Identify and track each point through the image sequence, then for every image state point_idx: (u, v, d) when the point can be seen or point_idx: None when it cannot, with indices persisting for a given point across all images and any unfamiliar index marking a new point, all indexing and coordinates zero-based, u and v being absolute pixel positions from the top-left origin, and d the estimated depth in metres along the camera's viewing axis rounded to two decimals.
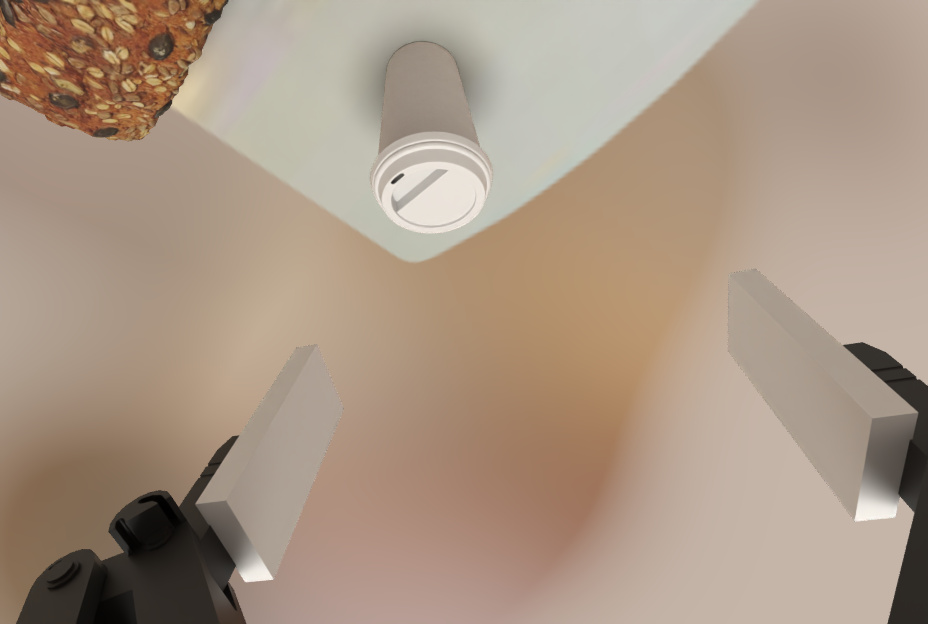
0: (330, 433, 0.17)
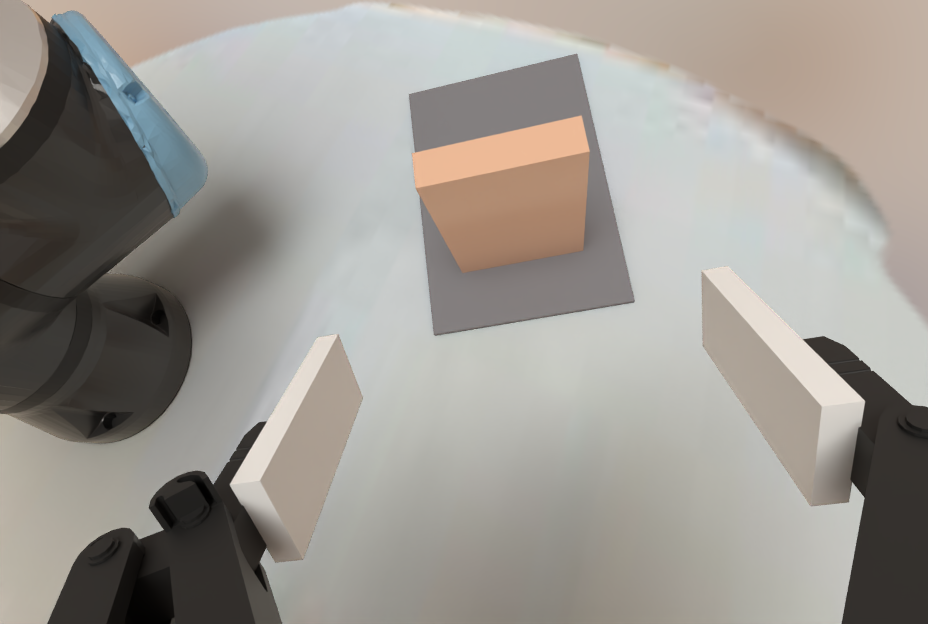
0: (351, 421, 0.17)
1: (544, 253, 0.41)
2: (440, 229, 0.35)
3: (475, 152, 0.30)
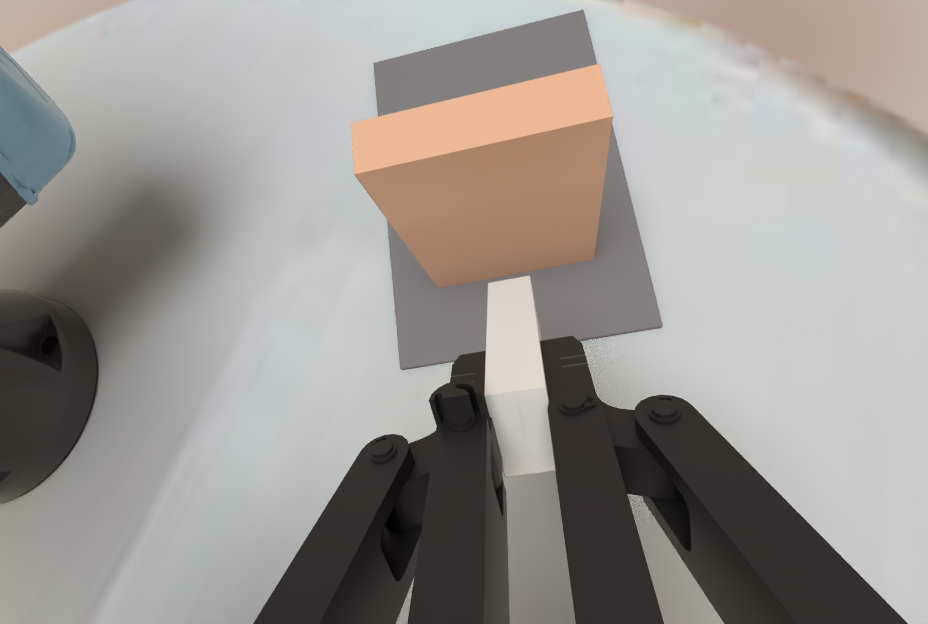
0: None
1: (543, 262, 0.32)
2: (400, 233, 0.26)
3: (442, 120, 0.20)
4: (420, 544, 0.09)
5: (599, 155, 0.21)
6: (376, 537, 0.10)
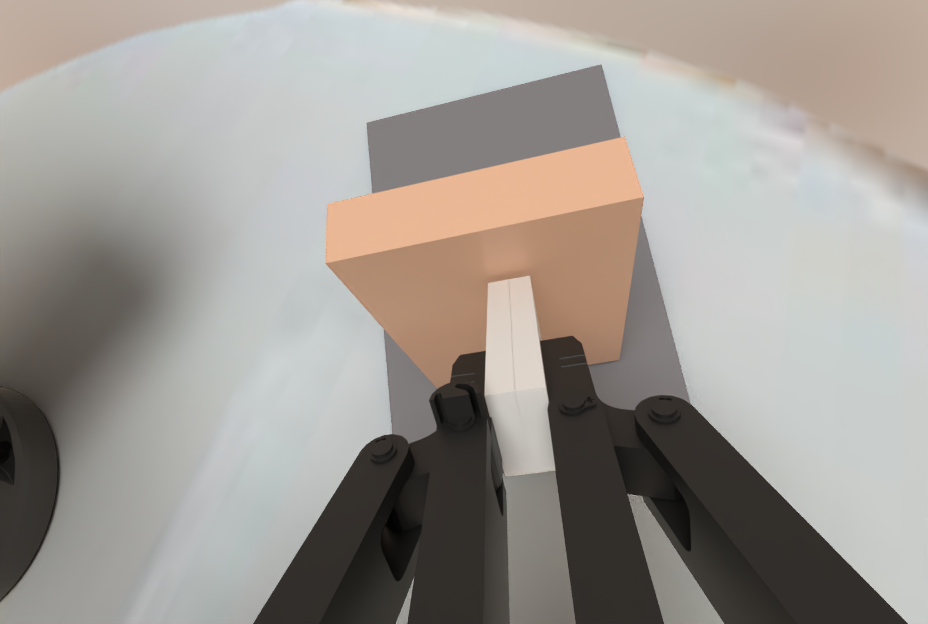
0: None
1: None
2: (388, 330, 0.22)
3: (434, 201, 0.17)
4: (420, 544, 0.09)
5: (626, 243, 0.17)
6: (376, 537, 0.10)
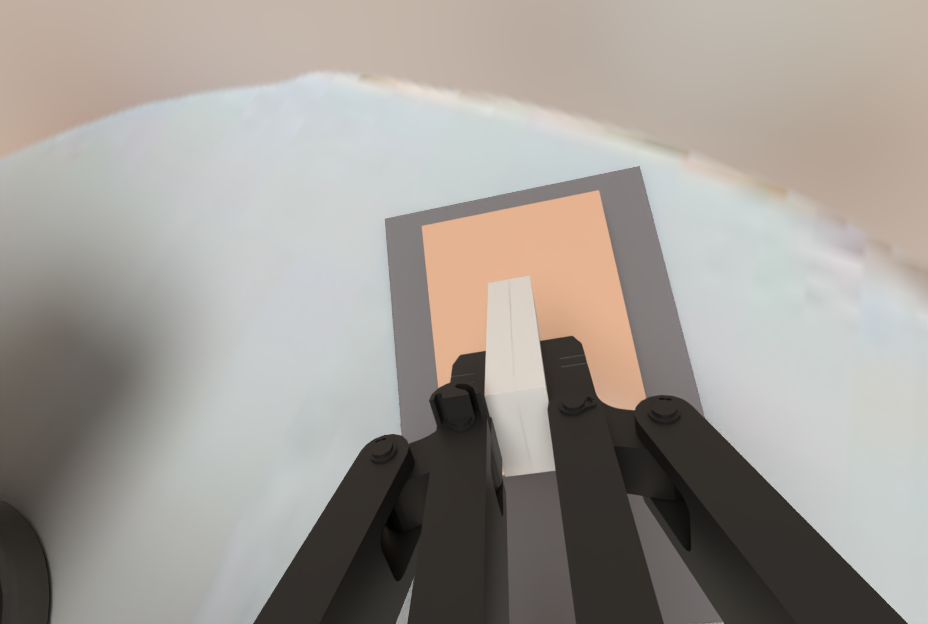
0: None
1: None
2: (433, 318, 0.28)
3: None
4: (420, 544, 0.09)
5: (601, 231, 0.27)
6: (376, 537, 0.10)
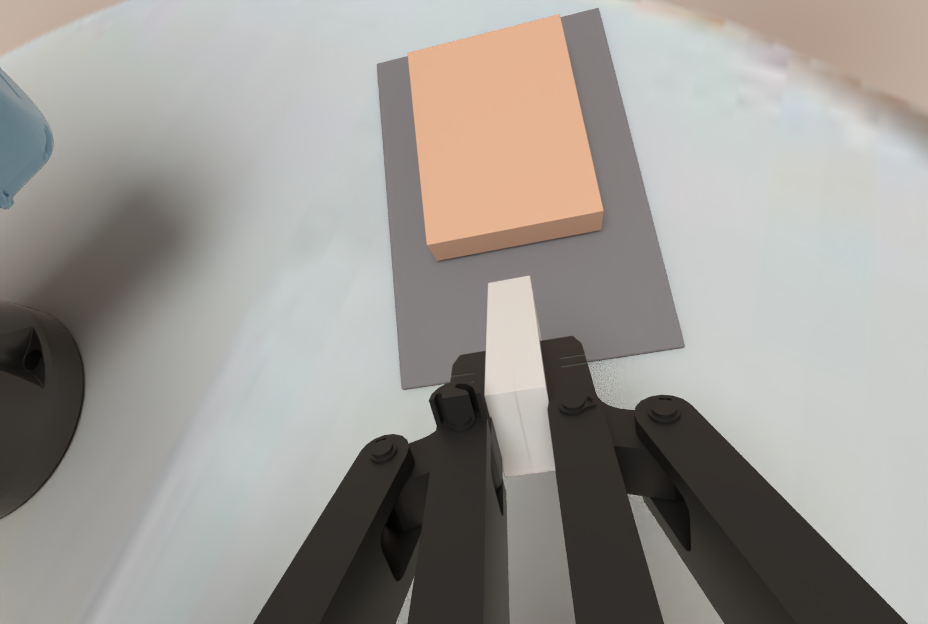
0: None
1: (543, 206, 0.29)
2: (416, 123, 0.32)
3: None
4: (420, 544, 0.09)
5: (560, 45, 0.32)
6: (376, 537, 0.10)
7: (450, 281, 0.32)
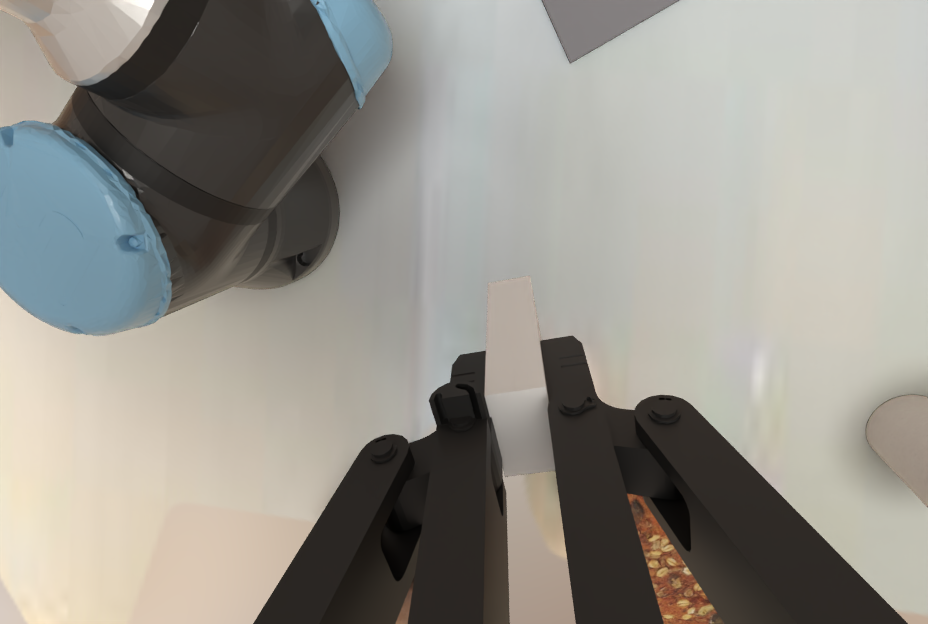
0: None
1: None
2: None
3: None
4: (420, 544, 0.09)
5: None
6: (376, 537, 0.10)
7: None
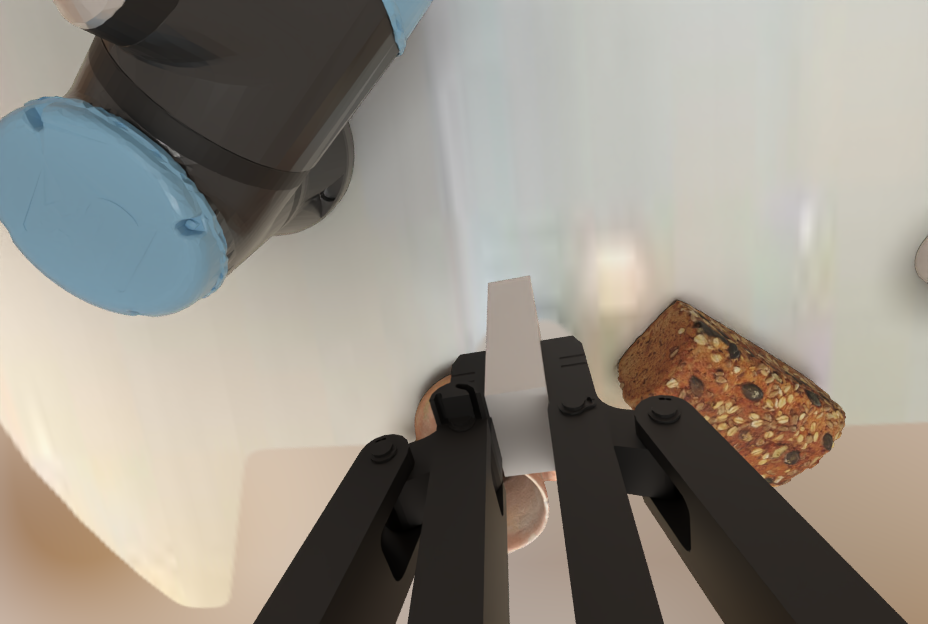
0: None
1: None
2: None
3: None
4: (420, 544, 0.09)
5: None
6: (376, 537, 0.10)
7: None
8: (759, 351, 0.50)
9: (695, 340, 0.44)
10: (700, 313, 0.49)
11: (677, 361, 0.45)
